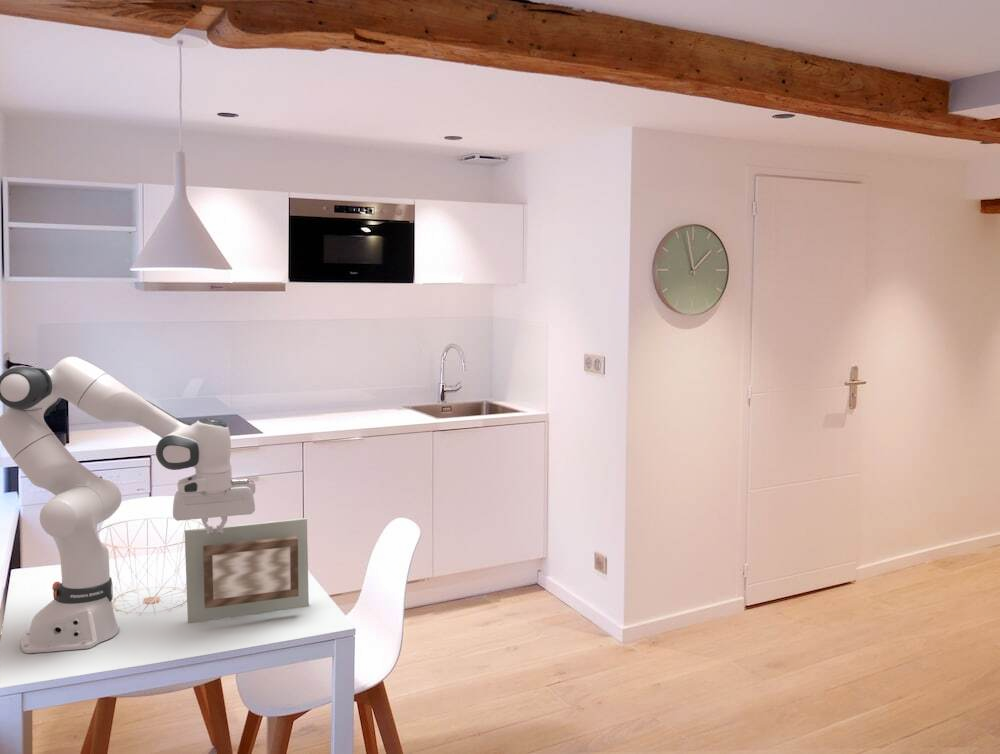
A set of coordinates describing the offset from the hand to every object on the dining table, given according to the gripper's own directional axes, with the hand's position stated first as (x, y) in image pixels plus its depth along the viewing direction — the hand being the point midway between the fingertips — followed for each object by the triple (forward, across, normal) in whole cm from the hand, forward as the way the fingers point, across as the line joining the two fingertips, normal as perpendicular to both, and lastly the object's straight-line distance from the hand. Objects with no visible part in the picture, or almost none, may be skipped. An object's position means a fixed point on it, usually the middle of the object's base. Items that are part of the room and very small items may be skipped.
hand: (214, 533), depth 226 cm
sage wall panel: (+25, -9, -4) cm, 27 cm away
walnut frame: (+19, -9, 0) cm, 21 cm away
